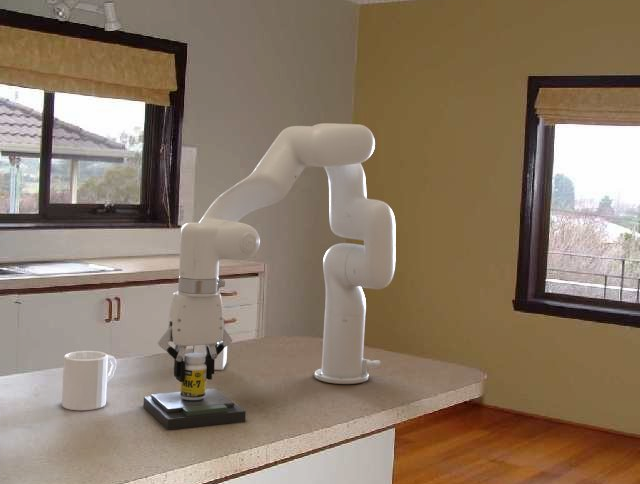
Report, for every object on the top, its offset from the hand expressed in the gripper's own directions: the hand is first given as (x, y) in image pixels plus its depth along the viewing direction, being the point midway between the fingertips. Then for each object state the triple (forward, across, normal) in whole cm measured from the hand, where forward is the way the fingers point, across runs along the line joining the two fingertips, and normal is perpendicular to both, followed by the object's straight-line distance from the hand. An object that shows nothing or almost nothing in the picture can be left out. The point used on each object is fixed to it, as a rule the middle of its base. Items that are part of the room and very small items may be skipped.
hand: (193, 378), depth 171 cm
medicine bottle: (+7, -16, -35) cm, 39 cm away
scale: (+7, 0, +1) cm, 7 cm away
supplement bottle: (+4, 0, 0) cm, 4 cm away
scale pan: (+5, 0, 0) cm, 5 cm away
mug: (+7, +16, -13) cm, 22 cm away
